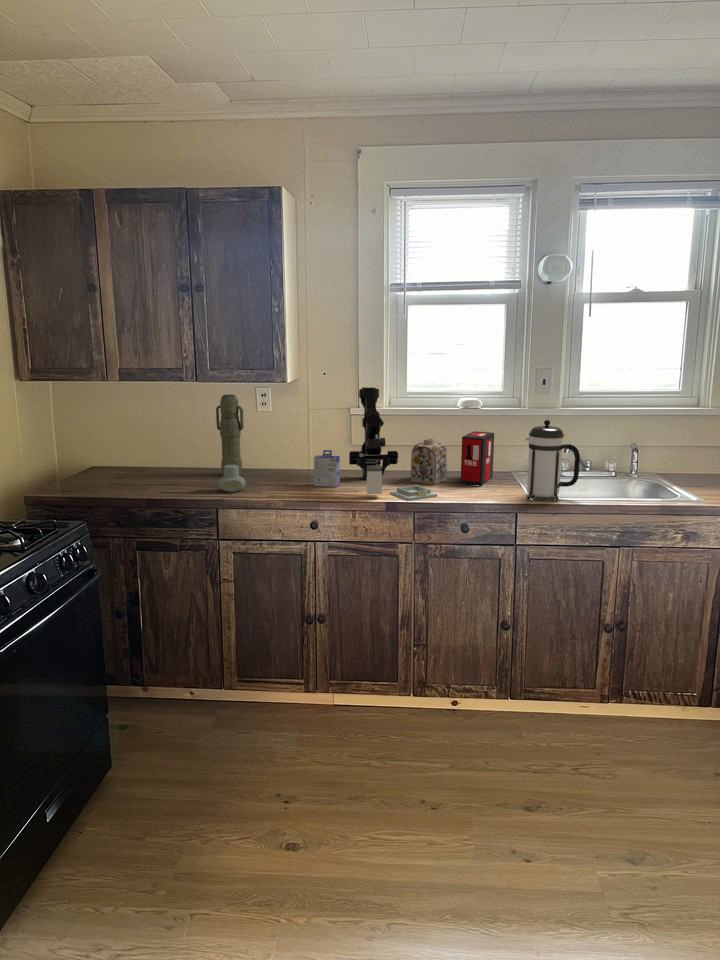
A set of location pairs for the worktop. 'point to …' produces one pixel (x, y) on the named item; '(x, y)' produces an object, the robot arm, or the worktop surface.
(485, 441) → the cleaning product box
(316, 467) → the ink cartridge box
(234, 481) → the air freshener
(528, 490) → the coffee press
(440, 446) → the decorative jar
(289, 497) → the worktop surface
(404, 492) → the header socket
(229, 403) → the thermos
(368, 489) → the block
